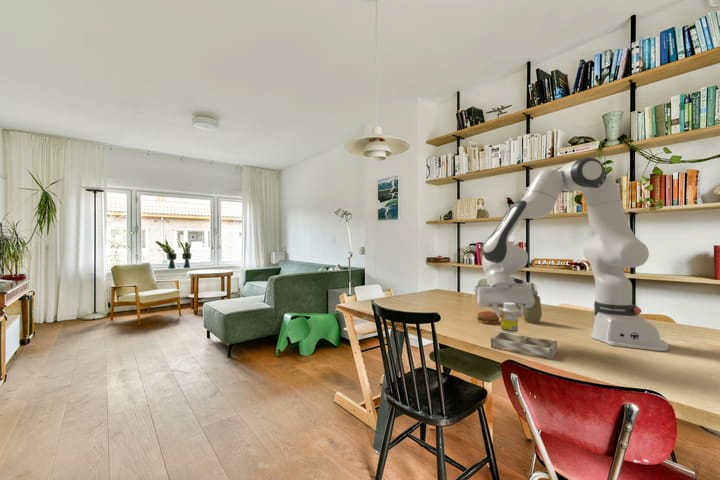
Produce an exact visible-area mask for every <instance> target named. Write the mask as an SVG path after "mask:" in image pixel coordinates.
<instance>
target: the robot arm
mask: <svg viewBox="0 0 720 480" xmlns="http://www.w3.org/2000/svg"><path fill="white" fill-rule="evenodd" d="M576 191H580V192H581V193H582V194H583V196H584V200H585V206H586V212H587V217H588V222H589V225H590V227H591V228H592V229H593V230H594V231H595V232H596V233H597V235H598V236H599V238H596V239H593V240H590V241H588V242H587V243H585V245H584V247H583V255H584V257H585V259H586V260H587V261H588V262H589V265H590V268H591V271H592V273H593V277H594V283H595V285H594V288H595V300H594V301H593V302H594V303H593V313H594V321H593V326H592V331H591V333H590V337H591V338H593V339H594V340H597V341H600V342H603V343H605V344H608V345H610V346H614V347H623V348H629V349H630V348H631V349H639V350H646V351H647V350H648V351H657V352H667V351H669V349H670V347H669V346H670V345H669V343H668V342H666V341H665V340H663V339H661V334H660V331H659V330H658V328H657V327H656V326H655V325H654V324H653V323H651V322H650V321H648V320H647V319H645V318H644V317H642V316H641V315H640V314H641V313H642V309H641V308H640V307H639V306H638V305H635V304H633V284H632V282H631V280H629V278H628V276H627V275H626V274H625V271H624V269H631V268H637V267H641V266H643V265H645V263H646V262H647V261H648V259H649V256H650V252H649V249H648V246H647V245H646V244H645V243H643V242H642V241H641V240H640V239H639V238H638V237H637V236H636V235H635V233H634V232H633V230H632V228H631V227H630V225H629V223H628V221H627V217H626V214H625V209H624V205H623V201H622V196H621V195H622V194H621V191H620V189H619V186H618V183H617V181H616V179H615V178H614V176H612V175H611V174H608V173H607V171H606V170H605V167H604V165H603V163H602V162H601V161H600V160H599V159H598V158H595V157H582V158H579V159H577V160H573V161H570V162H568V163H567V164H565V165H563V166H561V167H558V168H556V169H553V168H547V169H546V168H545V169H542V170H540V171H539V172H538V173H537V174H536V175H535V177H534V178H533V180H532V181H531V183H530V184H529V187H528V188H527V191H526V192H525V194H524V196H523V197H522V198H521V199H520V200H518V201H514V203H513V204H512V205H511V206H510V207H509V209H508V210H507V212H506V213H505V214H504V216H503V217H502V219H501V220H500V221H499V223H498V225H497V226H496V228H495V229H494V231H493V232H492V234H491V235H490V236H489V237H488V238H487V239H486V240H485V242H484V244H483V245H482V258H481V263H482V269H483V273H484V275H485V277H486V283H487V284H476V285H475V286H474V288H473V289H474V293H475V295H476V301H477V302H476V303H477V306H479V307H480V308H491V309H492V312H494V313H496V314H497V316H498V317H499V318H501V317H502V316H503V313H502V311H501V310H500V309H499V308H503V307H504V306H503V305H504V302H511V303H515V304H516V309H517V310H518V318H522V317H524V316H523V314H522V312H523V308H531V307H532V306H533V304H534V302H535V300H534V297H533V295H532V293H531V291H530V289H529V287H528V286H527V285H526V284H527V282H526V281H525V280H524V279H522V278H518V277H517V278H516V277H513V276H511V275H515V274H516V273H518V272H520V271H521V270H523V269H524V268H525V267H526V266H527V265H528V263H529V254H528V251H527V250H525V249H523V248H522V247H520V246H519V245H516V244H514V243H512V242H510V241H509V238H510V236H511V235H512V234H513V232H514V231H515V229H516V227H517V226H518V224H519V223H520V222H521V221H522V220H524V219H542V218H544V217H545V218H546V217H547V216H548V215H550V214H551V212H552V211H553V209H554V208H555V206H556V203H557V201H558V199H559V197H560V194H561V193H570V192H576Z"/></svg>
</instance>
